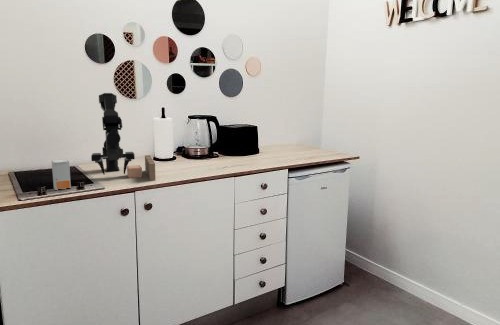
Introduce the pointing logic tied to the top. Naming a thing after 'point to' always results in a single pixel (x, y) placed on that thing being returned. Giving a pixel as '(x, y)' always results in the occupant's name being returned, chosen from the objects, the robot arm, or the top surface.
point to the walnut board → (150, 167)
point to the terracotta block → (134, 171)
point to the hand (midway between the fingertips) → (114, 174)
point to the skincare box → (61, 174)
